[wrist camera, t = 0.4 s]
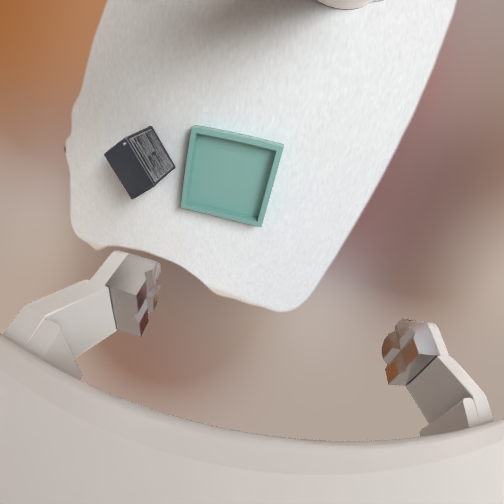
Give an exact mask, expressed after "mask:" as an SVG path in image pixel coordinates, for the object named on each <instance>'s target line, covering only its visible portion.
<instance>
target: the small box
mask: <svg viewBox="0 0 504 504" xmlns="http://www.w3.org/2000/svg"><path fill="white" fill-rule="evenodd" d="M104 155H105V157H106V158H107V160H108V162H109V163H110V165H111V167H112V168H113V170H114V172H115V173H116V175H117V176H118V178H119V180H120V181H121V183H122V184H123V186H124V188H125V189H126V191H127V192H128V194H129V196H130V197H131V199H134V198H136V197H138V196H139V195H141V194H143V193H144V192H146V191H148V190H149V189H151V188H153V187H154V186H155V185H156V184H157V183H158V182H159V181H160V180H161V179H163V178H164V177H165V176H166V175H167V174H168V173H169V172H171V171H172V170H173V169H175V166H174V164H173V162H172V160H171V159H170V157H169V155H168V153H167V152H166V150H165V148H164V147H163V145H162V143H161V141H160V140H159V138H158V136H157V134H156V133H155V131H154V129H153V128H152V126H149V127H148V128H146V129H143V130H141V131H139V132H137V133H134V134H132V135H130V136H128V137H125V138H124V139H123V140H121V141H120V142H119V143H117V144H116V145H115V146H114V147H112V148H111V149H110V150H108V151H107V152H106V153H105V154H104Z"/></svg>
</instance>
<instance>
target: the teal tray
mask: <svg viewBox="0 0 504 504" xmlns="http://www.w3.org/2000/svg"><path fill="white" fill-rule="evenodd" d="M283 147H284V144H281V143H277V142H273V141H269V140H265V139H261V138H257V137H253V136H248V135H244V134H240V133H235V132H230V131H225V130H220V129H215V128H210V127H205V126H199V125H195V126H193V127H192V128H191V134H190V141H189V147H188V154H187V161H186V168H185V175H184V183H183V191H182V200H181V208H184V209H188V210H193V211H197V212H201V213H205V214H209V215H214V216H218V217H222V218H226V219H230V220H234V221H238V222H242V223H246V224H250V225H254V226H258V227H261V226H262V223H263V219H264V215H265V212H266V208H267V205H268V201H269V198H270V194H271V190H272V187H273V183H274V180H275V176H276V172H277V169H278V165H279V162H280V158H281V155H282V151H283Z"/></svg>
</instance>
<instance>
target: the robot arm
mask: <svg viewBox="0 0 504 504" xmlns="http://www.w3.org/2000/svg"><path fill="white" fill-rule="evenodd" d="M317 1H319V2H321V3H323V4H325V5H328V6H331V7H334V8H339V9H355V8H360V7H362V6H365V5H366V4H368V3H370V2H372V1H381V0H317ZM159 274H160V264H159V262H156V261H153V260H149V259H146V258H143V257H139V256H136V255H133V254H129V253H126V252H122V251H119V250H116V251H113V252H112V254H111V255H110V256H109V257H108V258H107V259H106V261H105V262H104V263H103V264H102V265H101V267H100V268H99V269H98V270H97V272H96V273H95V274H94V275H93V277H92V278H91V279H90V280H86V279H85V280H83V281H80V282H78V283H76V284H73V285H71V286H68V287H66V288H64V289H61V290H59V291H57V292H54V293H52V294H50V295H47V296H45V297H43V298H40V299H38V300H36V301H34V302H31V303H29V304H27V305H25V306H24V307H23V308H22V309H21V311H20V312H19V313H18V315H17V316H16V317H15V318H14V320H13V321H12V322H11V324H10V325H9V326H8V328H7V329H6V331H5V332H4V333H3V335H2V334H0V504H504V419H501V420H498V421H495V422H493V418H492V414H491V411H490V407H489V404H488V401H487V398H486V395H485V394H484V393H483V391H482V390H481V389H480V388H479V387H478V386H477V384H476V383H475V382H474V381H473V380H472V379H471V378H470V377H469V375H468V374H467V373H466V372H465V371H464V370H463V369H462V367H461V366H460V365H459V364H458V363H457V362H456V361H455V360H454V359H453V358H452V357H449V354H448V352H447V349H446V346H445V344H444V342H443V339H442V337H441V334H440V332H439V329H438V327H437V326H436V325H435V324H434V323H429V322H420V321H415V320H409V319H401V320H400V321H399V322H398V323H397V324H396V325H395V331H394V332H392V333H390V334H388V336H387V337H386V338H385V340H384V342H383V346H382V356H383V359H384V361H385V362H386V363H387V366H386V369H385V371H386V375H387V380H388V384H389V385H403V386H406V387H407V389H408V391H409V392H410V394H411V395H412V397H413V399H414V400H415V402H416V403H417V405H418V407H419V408H420V410H421V411H422V413H423V415H424V416H425V418H426V420H427V421H428V423H429V425H427V426H426V427H424V428H423V429H421V431H420V437H413V438H404V439H392V440H375V441H325V440H306V439H295V438H285V437H276V436H268V435H261V434H254V433H248V432H242V431H236V430H232V429H226V428H222V427H217V426H212V425H208V424H204V423H200V422H195V421H192V420H188V419H184V418H181V417H177V416H174V415H170V414H166V413H164V412H160V411H157V410H154V409H151V408H148V407H145V406H142V405H139V404H136V403H134V402H131V401H128V400H126V399H123V398H121V397H118V396H115V395H113V394H111V393H108V392H106V391H103V390H101V389H99V388H96V387H94V386H92V385H90V384H88V383H85V382H83V381H81V380H80V379H81V377H82V373H81V370H80V368H79V366H78V364H77V362H76V360H75V358H77V357H78V356H79V355H81V354H82V353H84V352H85V351H87V350H88V349H90V348H91V347H93V346H94V345H96V344H97V343H99V342H100V341H102V340H103V339H105V338H106V337H108V336H109V335H111V334H112V333H114V332H115V331H116V329H118V330H121V331H124V332H127V333H130V334H133V335H136V336H140V337H141V336H142V334H143V332H144V330H145V328H146V325H147V324H148V314H149V313H151V312H153V311H154V309H155V307H156V305H157V302H158V298H159V294H160V282H159V281H158V280H157V278H158V276H159Z"/></svg>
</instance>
